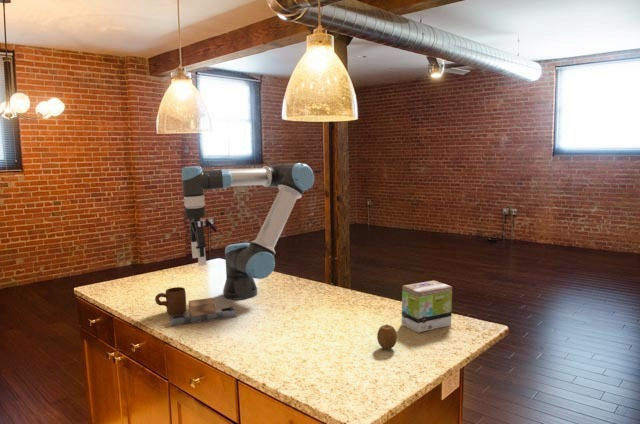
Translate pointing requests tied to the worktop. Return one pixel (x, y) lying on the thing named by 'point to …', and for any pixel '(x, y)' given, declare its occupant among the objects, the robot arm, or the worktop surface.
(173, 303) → the mug
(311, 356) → the worktop surface
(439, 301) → the tea box
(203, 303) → the tan cardboard box
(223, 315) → the rail
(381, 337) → the fruit
